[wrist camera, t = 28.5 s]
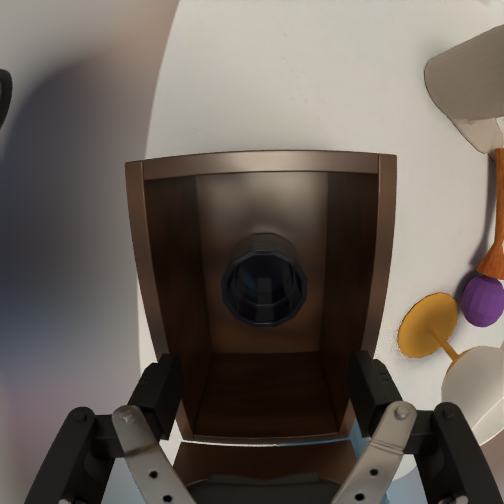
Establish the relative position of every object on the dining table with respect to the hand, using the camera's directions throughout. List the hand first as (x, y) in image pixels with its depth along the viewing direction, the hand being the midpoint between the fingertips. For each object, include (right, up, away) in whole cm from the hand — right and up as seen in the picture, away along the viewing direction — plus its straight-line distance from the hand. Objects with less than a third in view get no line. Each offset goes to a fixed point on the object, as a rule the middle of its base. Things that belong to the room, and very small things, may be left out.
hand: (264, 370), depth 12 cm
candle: (+23, +21, +8) cm, 32 cm away
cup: (+20, -3, +16) cm, 26 cm away
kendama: (+26, +8, +12) cm, 30 cm away
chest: (+1, +4, +14) cm, 15 cm away
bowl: (+1, +4, +13) cm, 14 cm away
